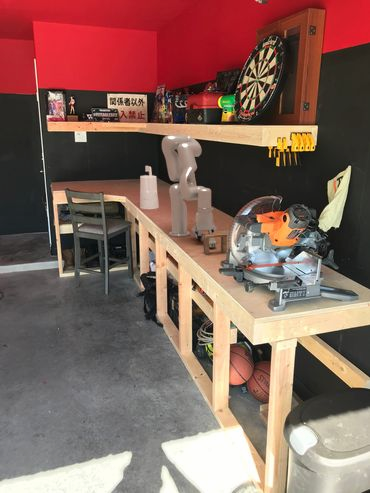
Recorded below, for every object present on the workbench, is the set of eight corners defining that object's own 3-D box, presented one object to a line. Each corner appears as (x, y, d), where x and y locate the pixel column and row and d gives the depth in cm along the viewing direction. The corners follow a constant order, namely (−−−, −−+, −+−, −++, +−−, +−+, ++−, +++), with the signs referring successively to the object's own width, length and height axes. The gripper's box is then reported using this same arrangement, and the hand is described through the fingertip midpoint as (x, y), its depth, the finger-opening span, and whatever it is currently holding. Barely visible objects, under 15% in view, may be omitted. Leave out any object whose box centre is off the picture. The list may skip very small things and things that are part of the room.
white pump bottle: (136, 207, 350) (134, 166, 340) (152, 204, 358) (150, 164, 349) (146, 210, 338) (144, 167, 328) (162, 207, 346) (161, 166, 337)
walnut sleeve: (203, 252, 228) (203, 234, 225) (224, 250, 231) (224, 232, 228) (205, 254, 224) (205, 236, 221) (226, 252, 227) (227, 234, 224)
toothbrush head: (199, 230, 255) (217, 234, 232) (199, 241, 256) (218, 246, 233) (191, 231, 253) (208, 235, 230) (191, 242, 255) (209, 247, 232)
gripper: (216, 208, 244) (216, 238, 249) (187, 210, 240) (188, 241, 245) (221, 210, 237) (220, 241, 243) (191, 212, 233) (191, 244, 238)
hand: (204, 241), depth 244 cm, fingers closed on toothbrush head, 5 cm apart
